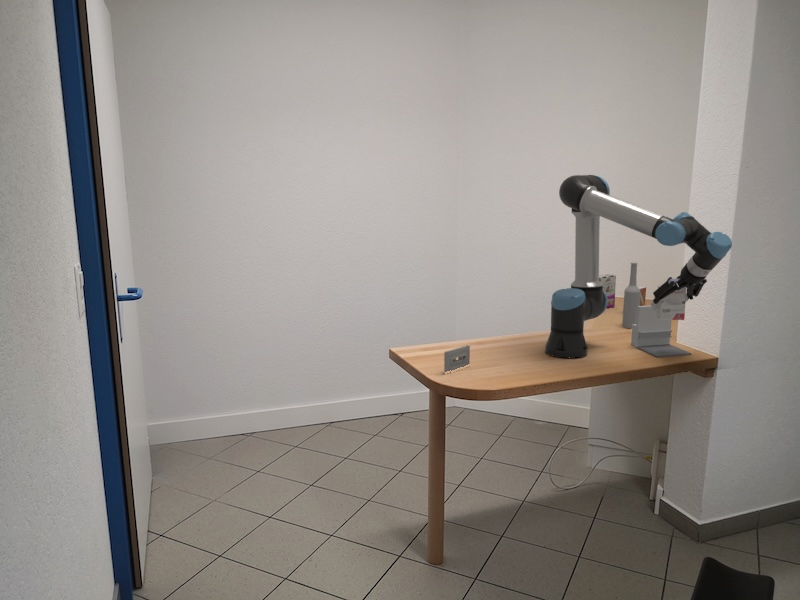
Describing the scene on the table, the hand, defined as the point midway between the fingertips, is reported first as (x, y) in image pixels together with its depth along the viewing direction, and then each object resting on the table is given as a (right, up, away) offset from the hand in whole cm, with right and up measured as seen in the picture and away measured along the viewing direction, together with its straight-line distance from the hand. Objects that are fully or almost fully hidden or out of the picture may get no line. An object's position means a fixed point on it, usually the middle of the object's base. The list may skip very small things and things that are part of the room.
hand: (665, 306), depth 216 cm
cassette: (-78, -22, -15) cm, 82 cm away
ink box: (+1, -5, -2) cm, 5 cm away
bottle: (+3, -10, +40) cm, 41 cm away
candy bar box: (+4, -2, +79) cm, 80 cm away
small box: (+14, -5, +64) cm, 66 cm away
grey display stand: (0, -16, +5) cm, 17 cm away
